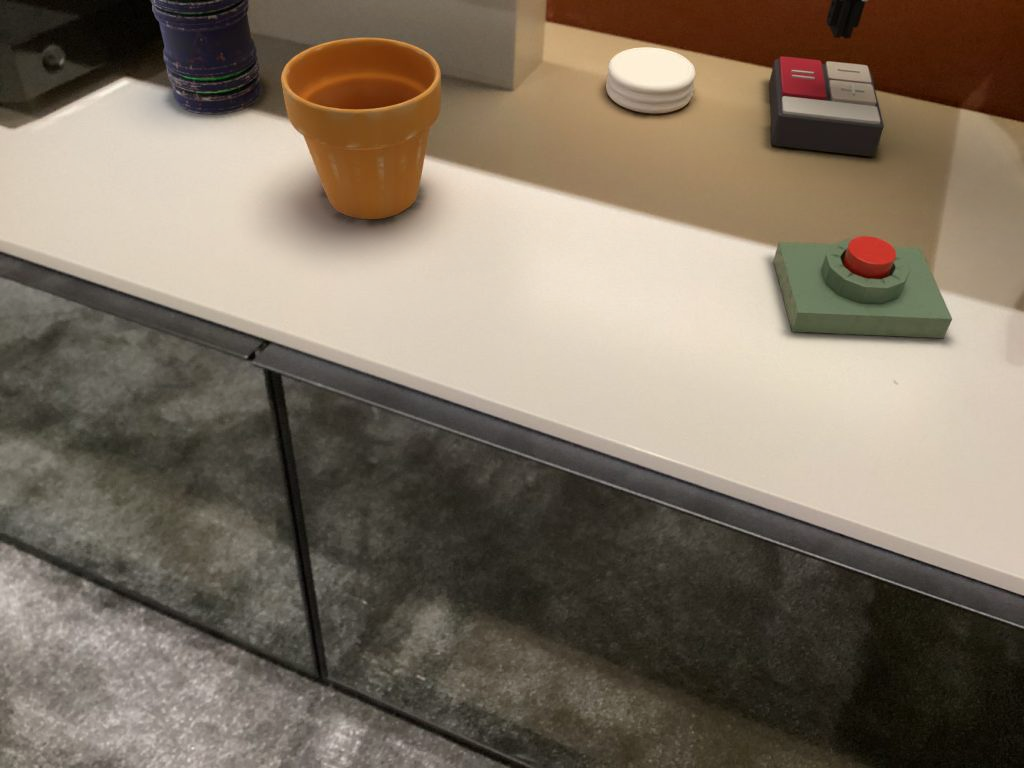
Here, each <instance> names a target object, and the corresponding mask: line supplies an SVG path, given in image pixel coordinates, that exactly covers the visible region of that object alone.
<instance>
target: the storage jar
mask: <svg viewBox="0 0 1024 768" xmlns="http://www.w3.org/2000/svg"><path fill="white" fill-rule="evenodd" d="M150 2H151V5H152V6H151V9H152V12H153V14H154V17H155V19H156V20H157V21H158V23H159V28H160V33H161V37H162V41H163V45H164V48H163V50H162V51H163V52H162V53H163V62H164V63H165V65H166V66H165V68H166V72H167V77H168V80H169V82H170V85H171V87H172V89H173V97H174V102H175V103H176V104H177V105H178V106H179V107H180V108H181V109H184V110H185V111H187V112H190V113H191V112H192V113H195V114H201V115H222V114H229V113H233V112H237V111H241V110H243V109H245V108H248V107H250V106H251V105H253V104H254V103H256V102H257V101H258V100H259V99H260V97H261V95H262V92H263V87H262V83H261V80H260V76H261V75H260V62H259V57H258V55H257V53H258V49H257V46H256V43H255V40H254V39H253V38H252V36H251V35H252V34H251V28H250V23H249V22H250V21H249V17H248V12H249V0H150Z"/></svg>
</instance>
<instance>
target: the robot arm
mask: <svg viewBox="0 0 1024 768" xmlns="http://www.w3.org/2000/svg"><path fill="white" fill-rule="evenodd" d="M868 1H869V0H831V1H830V5H829V9H828V12H827V15H826V25H827V26H828V27H829V30H830V32H831V33H832V36H833V38H834V39H840V38H842V37H843V38H844V39H848V40H850V39H851V37H852V34H853V31H854V28H858V27H859V24H860V21H861V18H862V15H863V11H864V9H865V5H866V2H868Z"/></svg>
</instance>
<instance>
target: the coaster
mask: <svg viewBox="0 0 1024 768" xmlns="http://www.w3.org/2000/svg"><path fill="white" fill-rule="evenodd" d="M696 76H697V73H696V68H695V66H694V65H693V63H692V62H691V61H690V60H689V59H688V58H687V57H685V56H683V55H682V54H679V53H678V52H675V51H672V50H669V49H665V48H660V47H647V46H645V47H644V46H643V47H634V48H628V49H625V50H622V51H620V52H618V53H617V54H615V55H614V56H613V57H612V58H610V60H609V62H608V66H607V75H606V80H607V81H606V84H605V88H606V92H607V95H608V97H609V98H610V99H611V100H612V101H613V102H614V103H616V104H617V105H619V106H620V107H622V108H625V109H627V110H630V111H633V112H636V113H641V114H642V113H643V114H654V115H655V114H667V113H672V112H674V111H677V110H680V109H682V108H684V107H686V105H688V104H689V102H690V101H691V99H692V97H693V93H694V92H693V90H694V88H695V79H696Z"/></svg>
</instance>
